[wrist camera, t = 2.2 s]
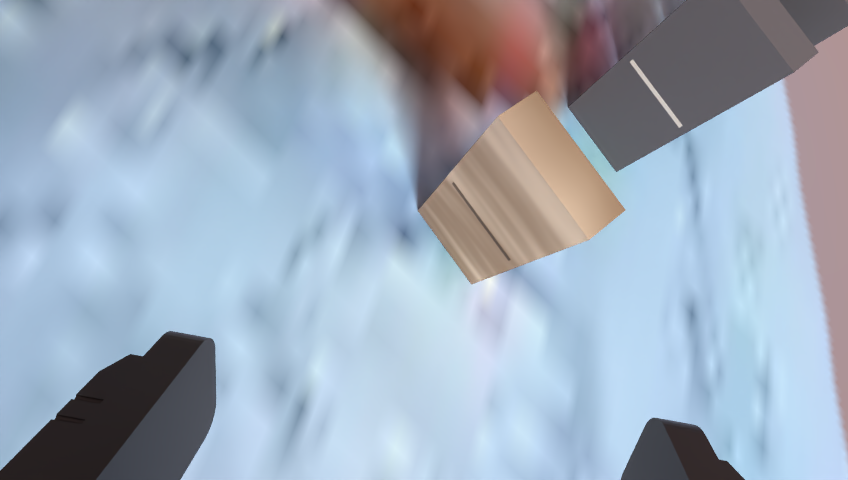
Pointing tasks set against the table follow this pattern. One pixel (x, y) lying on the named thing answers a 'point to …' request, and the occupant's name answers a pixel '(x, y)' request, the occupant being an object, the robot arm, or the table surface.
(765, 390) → the table surface
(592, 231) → the maple domino
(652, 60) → the charcoal domino
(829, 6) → the charcoal domino
